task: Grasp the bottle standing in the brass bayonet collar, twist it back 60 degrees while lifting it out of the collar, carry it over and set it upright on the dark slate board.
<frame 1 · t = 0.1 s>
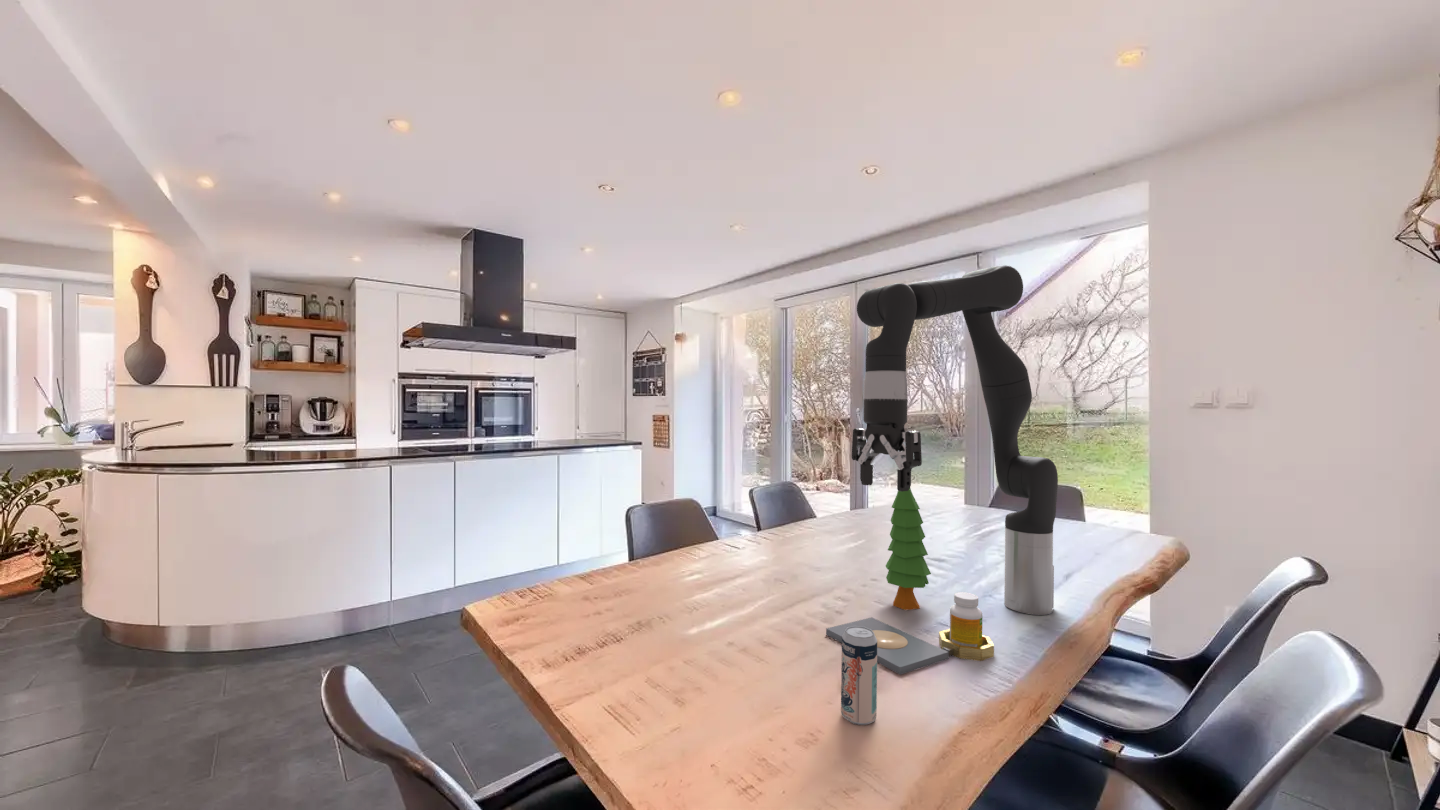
hand: (884, 487, 99), 29 cm above the table, fingers open, 8 cm apart
collar: (965, 649, 99), on the table
beer can: (858, 719, 77), on the table
supplement bottle: (965, 650, 99), resting in collar
decorative tree: (907, 605, 122), on the table
board: (884, 646, 100), on the table
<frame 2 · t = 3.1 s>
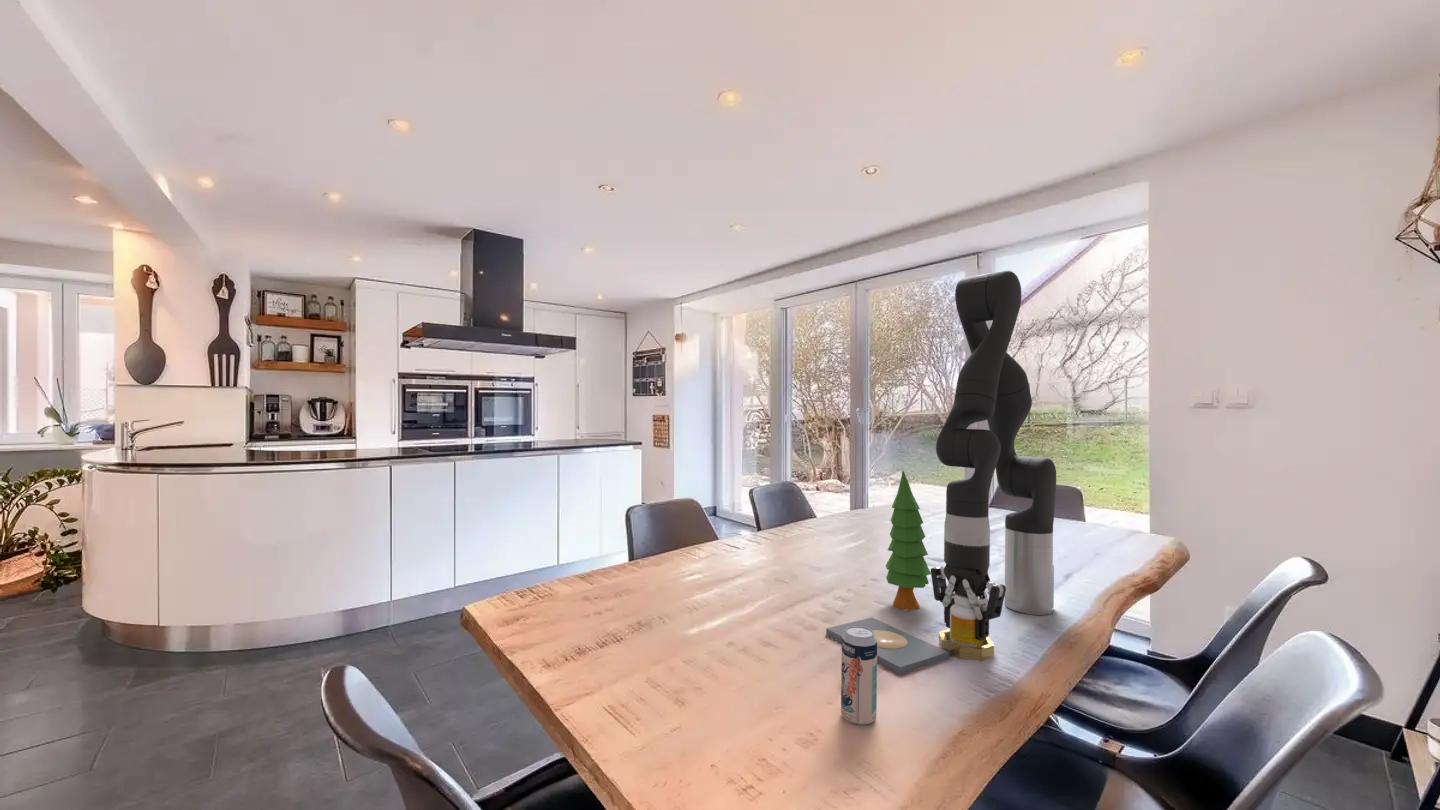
hand: (965, 632, 99), 3 cm above the table, fingers closed on supplement bottle, 5 cm apart
supplement bottle: (965, 650, 99), resting in collar, touching gripper
everything else where it was.
when the fingers open (5 cm above the table, at t = 9.8 s): supplement bottle stays where it is, resting on board.
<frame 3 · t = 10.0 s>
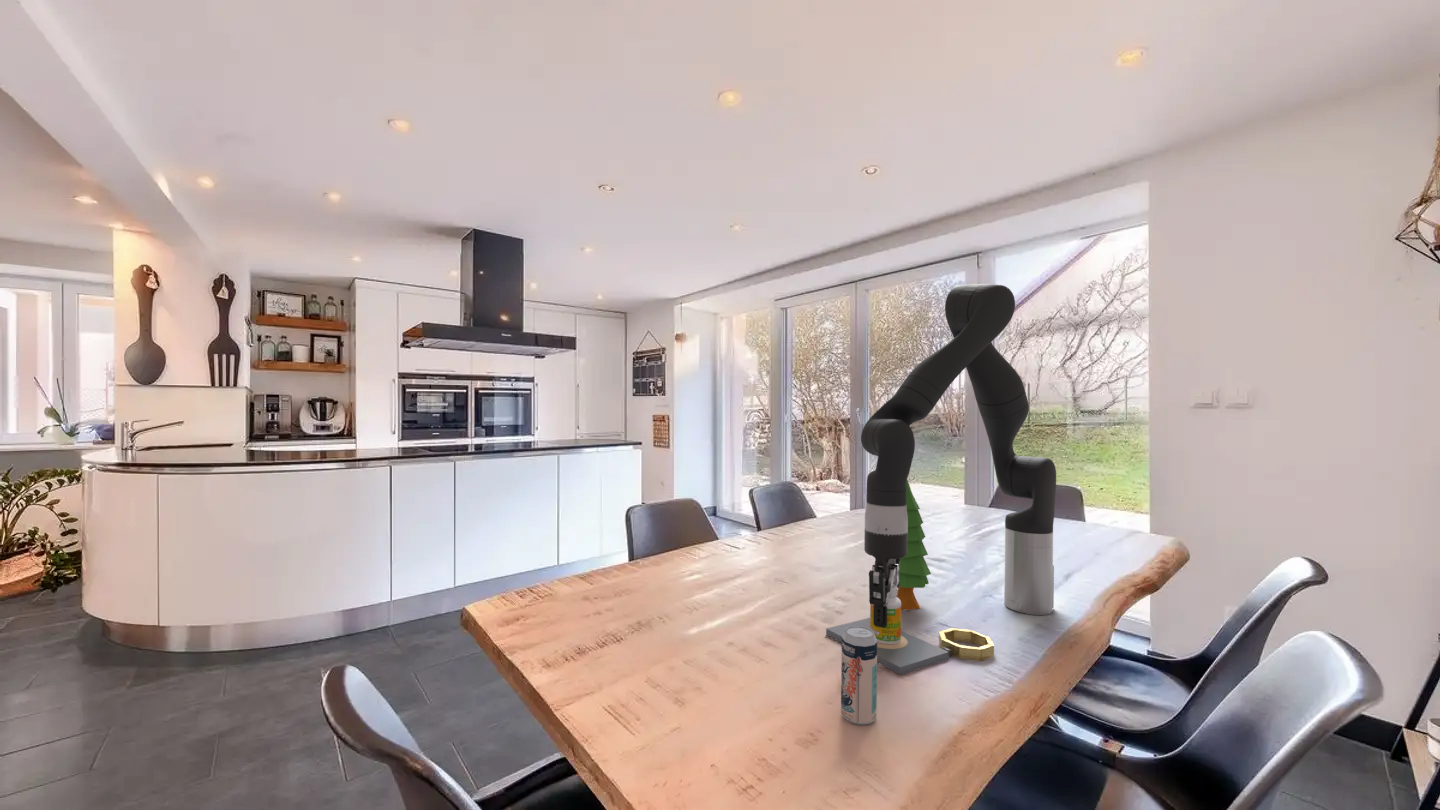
hand: (884, 619, 100), 5 cm above the table, fingers open, 6 cm apart
supplement bottle: (885, 640, 100), point 1 cm above the table, touching board
everything else where it was.
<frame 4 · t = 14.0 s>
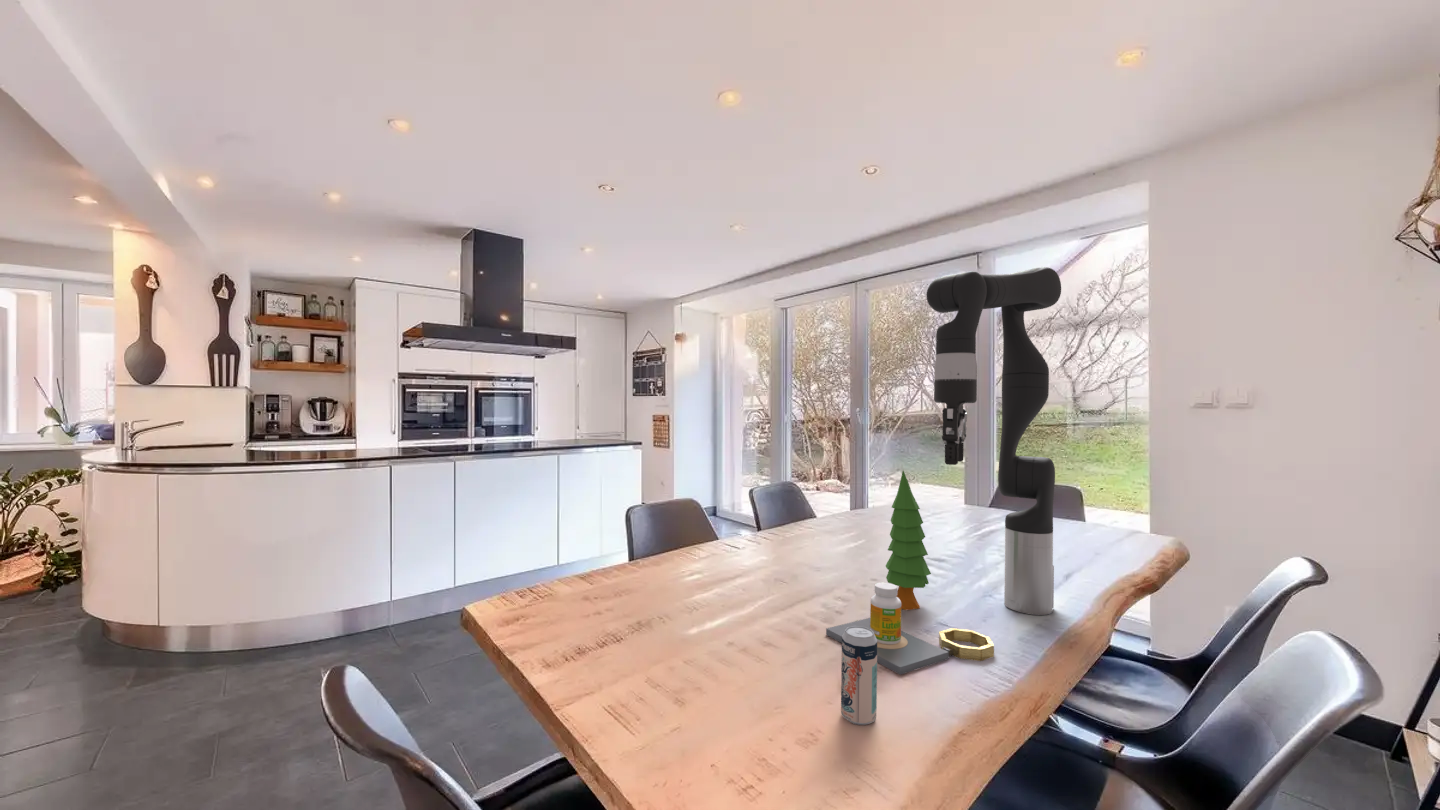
hand: (954, 462, 106), 33 cm above the table, fingers open, 8 cm apart
nothing on the table moved.
at the end: supplement bottle 0.1 cm from the board (horizontally); supplement bottle tilted 0°; supplement bottle touching board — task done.
